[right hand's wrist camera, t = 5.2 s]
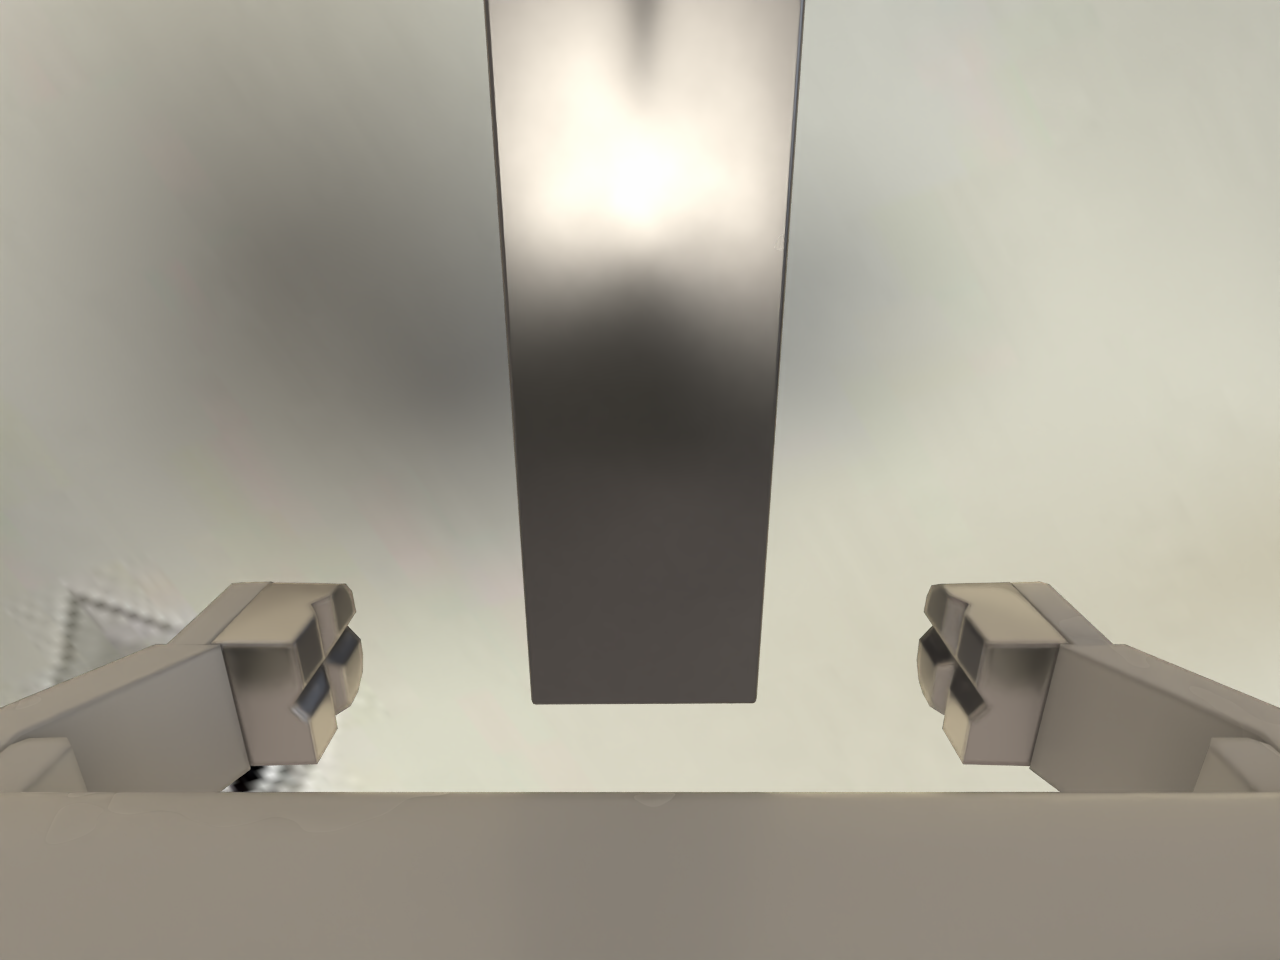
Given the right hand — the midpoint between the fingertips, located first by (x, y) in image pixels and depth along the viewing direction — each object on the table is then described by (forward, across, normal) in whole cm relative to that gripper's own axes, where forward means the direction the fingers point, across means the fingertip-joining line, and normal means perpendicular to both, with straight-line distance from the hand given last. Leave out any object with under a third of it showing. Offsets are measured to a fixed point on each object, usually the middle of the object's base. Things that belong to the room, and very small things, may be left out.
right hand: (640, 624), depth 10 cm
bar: (+12, 0, -10) cm, 16 cm away
